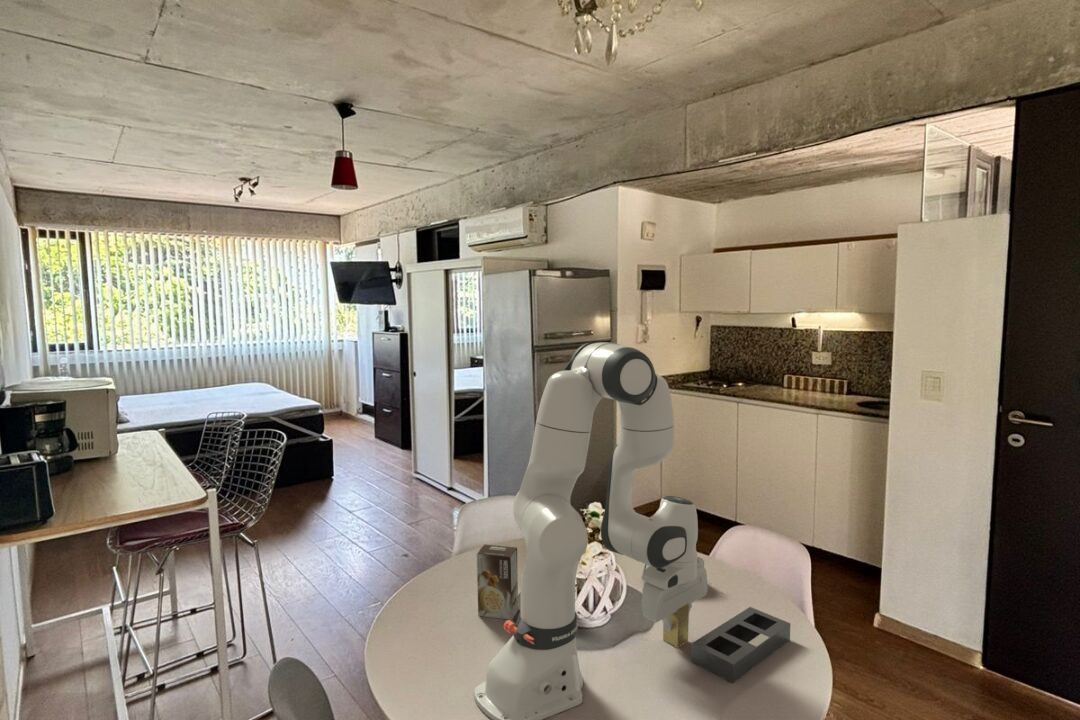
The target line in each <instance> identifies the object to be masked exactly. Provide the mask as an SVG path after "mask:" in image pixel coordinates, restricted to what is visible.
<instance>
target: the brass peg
mask: <svg viewBox="0 0 1080 720" xmlns="http://www.w3.org/2000/svg"><path fill="white" fill-rule="evenodd" d="M689 616H690V612H689V603H688V604H686V605H684V606H682V607H680V608H678V609H677V611H676V612H675V613H673V614H672V615H671V618H670V620H671V622H673V623H674V626H673V627H674V629H673V630H671V631H670V632H668V631H666V630H664V622H663V621H662V623H663V625H662V626H663V627H662V633H663V634H662V641H664V640H665V641H667V642H669V643H671V644H672V645H671V644H670V645H671V646H673V645H674V647H675V646H676V647H675V648H677V647H678V646H680V645H681V646H683V645H684V644H683V643H685V644H687V643H688V642H689V624H690V622H689ZM665 641H664V642H665ZM687 641H688V642H687ZM667 642H666V643H667ZM669 643H668V644H669ZM682 644H683V645H682ZM681 646H680V647H681ZM678 648H679V647H678Z"/></svg>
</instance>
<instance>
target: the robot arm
mask: <svg viewBox="0 0 1080 720" xmlns="http://www.w3.org/2000/svg"><path fill="white" fill-rule="evenodd" d="M670 392H671V391H670V387H669V384H668V382H667V380H666V379H665V378H664V376H661V375H659V374H657V373H656V370H655V367H654V364H653V362H652V360H651V359H650V358H649V357H648V356H647V355H646V354H645V353H644V352H642V351H641V350H639V349H637V348H634V347H631V346H625V345H621V344H619V343H616V342H603V341H602V342H601V341H590V342H586V343H583V344H582V345H581V346H579V347H578V348H577V349H576V350H575V351H574V352H573V354H572V356H571V358H570V360H569V362H568V364H567V365H566V366H565V367H564V370H560V371H557V372H555V373H553V374H552V375H550V376H549V378H548V380H547V382H546V385H545V387H544V389H543V393H542V395H541V399H540V402H539V406H538V411H537V417H536V421H535V426H534V427H535V428H534V433H533V440H532V444H531V451H530V454H529V455H530V456H529V461H528V464H527V466H526V467H527V468H526V469H525V470H526V471H525V473H524V476H523V478H522V481H521V484H520V487H519V491H518V492H517V493H516V495H515V497H514V499H513V504H512V505H513V507H512V511H513V517H514V521H515V524H516V526H517V528H518V529H519V530H520V533H521V535H523V538H524V542H525V547H526V549H525V550H526V552H525V553H526V556H525V563H524V568H523V572H521V575H520V585H519V586H520V596H519V597H520V598H519V599H520V600H519V601H520V611H519V613H518V615H517V619H516V622H513V620H509V619H506V620H505V622H504V624H503V630H505V631H506V632H508V633H509V634H512V636H510V638H509V640H508V641H507V642H506V643H505V644H504V646H502V648H501V649H500V651H498V652H497V654H496V655H495V656H494V657H493V659H492V660H491V661H490V662H489V664H488V666H487V670H486V671H487V672H486V675H485V676H486V677H485V680H484V681H483V682H481V683H480V684H479V685H477V686H475V688H474V691H473V699H474V702H475V703H476V705H477V707H478V708H479V709H480V710H481V711H482V712H483V713H484V714H485V715H486V716H487V717H488V718H489V719H491V720H544V719H546V718H549V717H552V716H554V715H557V714H559V713H562V712H564V711H567V710H569V709H572V708H575V707H577V706H580V705H581V704H582V703H583V693H582V690H583V689H582V688H583V685H584V678H583V675H582V673H581V667H580V664H579V657H578V650H577V641H576V640H577V639H576V637H577V635H578V627H579V626H578V615H577V612H576V579H577V578H576V577H577V572H578V566H579V564H580V559H581V558H582V557H583V556H584V554H585V552H586V549H587V548H588V543H589V536H588V531H587V529H586V526H585V523H584V521H583V519H582V516H581V515H580V513H579V512H578V511H577V510H576V509H575V508H574V507H573V506H572V505H571V497H572V493H573V489H574V487H575V484H576V482H577V481H578V478H579V477H580V475H581V474H583V472H584V471H585V468H586V462H587V457H588V451H589V444H590V439H591V433H592V427H593V419H594V418H593V417H594V413H595V410H596V408H597V405H598V404H599V403H600V401H601V400H602V399H603V398H604V399H608V400H615V401H617V404H618V407H619V410H620V436H619V441H618V443H617V444H615V445H614V447H613V448H612V451H611V454H610V458H609V463H608V472H607V473H608V474H607V483H606V484H607V485H606V486H607V487H606V494H605V495H606V496H605V506H604V513H603V517H602V520H601V524H600V537H601V540H602V544H603V545H604V547H605V548H606V549H607V550H608V551H610V552H612V553H615V554H619V555H622V556H625V557H628V558H630V559H631V560H635V561H636V562H639V563H642V564H644V565H645V564H646V565H649V567H648V568H647V569H646V570H645V571H644V572H643V571H642V572H643V575H642V574H641V579H642V581H645V582H646V583H645V584H644V585H643V587H642V593H641V613H642V615H643V617H645V619H647V620H649V621H651V622H654V623H658V622H661V621H662V623H663V622H664V630H666V631H668V632H670V631H671V630H673V629H674V627H673V626H674V623H673V622H671V620H670V618H671V615H672V614H673V613H675V612H676V611H677V609H678V608H680V607H682V606H684V605H686V604H688V603H689V613H690V612H691V609H692V607H693V605H692V604H693V603H694V602H696V601H698V600H699V599H701V598H704V597H705V596H706V595H707V592H708V589H709V588H708V586H709V585H708V574H707V573H708V572H707V569H706V567H705V560H704V559H703V558H702V557H700V556H698V552H697V545H696V544H697V542H698V537H699V536H698V535H699V534H698V533H699V527H698V524H699V523H698V522H699V521H698V514H697V508H696V505H695V503H694V502H692V501H691V500H689V499H686V498H683V497H680V496H674V495H665V496H663V497H661V500H660V502H659V508H658V509H657V510H656V512H655V513H654V514H653V515H651V516H650V517H649V516H646V515H644V514H640V513H637V512H636V510H635V509H634V507H633V505H632V498H633V497H632V496H633V489H634V488H633V487H634V476H635V475H636V472H637V471H638V470H642V469H646V468H650V467H651V466H655V465H658V464H660V463H661V462H663V461H665V460H666V459H667V458H668V456H670V454H671V452H672V451H673V448H674V443H675V426H674V425H675V423H674V422H675V421H674V409H673V402H672V396H671V393H670Z"/></svg>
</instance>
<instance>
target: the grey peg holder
mask: <svg viewBox="0 0 1080 720" xmlns="http://www.w3.org/2000/svg"><path fill="white" fill-rule="evenodd" d="M790 640H791V622H789V621H786V620H783V619H782V618H781V619H780V618H778V617H776V616H773V615H771V614H769V613H766V612H764V611H761V610H759V609H757V608H754V607H752V606H749V607H748V608H746V609H744V610H743V611H741V612H739V613H738V614H736V615H735V616H733V617H731V618H729V620H726V621H725V622H724V623H722V624H720V625H719V626H717V627H715V628H714V629H712V630H711V631H709V632H708V633H706V634H704V635H703V636H701V637H699V638H698V639H697V640H694V641H693V642H691V647H690V648H691V651H690V652H691V653H690V661H691V663H694V664H695V663H696V665H698V666H700V667H701V668H703V669H705V670H707V671H709V672H711V673H712V674H715V675H717V676H718V677H720V678H721V679H724V680H726V681H728V682H730V683H732V684H734V683H735V682H737V681H738V680H740V678H742V677H743V676H744V675H746V674H748V673H749V672H750V671H751V670H752V669H754V668H755V667H757V666H758V665H760V663H762V662H763V661H764V660H766V659H767V658H769V656H771V655H773V654H774V653H775V652H776V651H777V650H779V649H780V648H782V647H783V646H784V645H785V644H787V643H788V642H789V641H790Z"/></svg>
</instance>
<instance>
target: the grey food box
mask: <svg viewBox="0 0 1080 720" xmlns="http://www.w3.org/2000/svg"><path fill="white" fill-rule="evenodd" d="M476 572H477V573H476V577H477V578H476V579H477V582H476V583H477V614H478V616H479V617H486V618H494V619H503V620H510V621H513V619H514V618H515V616H516V614H517V612H518V610H519V589H518V586H519V585H518V584H519V581H518V579H519V578H518V547H517V546H516V547H514V546H507V545H506V546H505V545H497V544H496V545H493V544H483V545H482V547H480V549H479V550H478V552H477V554H476Z"/></svg>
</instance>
